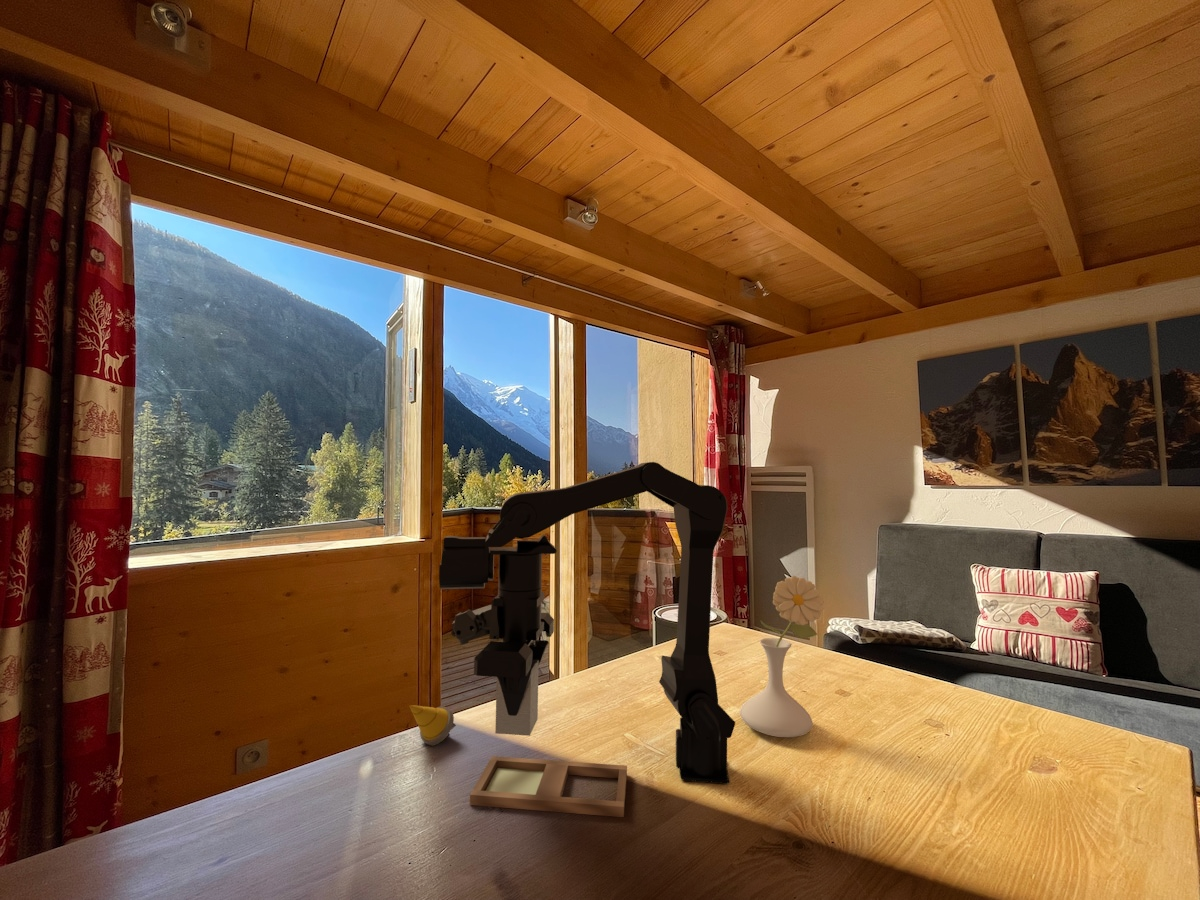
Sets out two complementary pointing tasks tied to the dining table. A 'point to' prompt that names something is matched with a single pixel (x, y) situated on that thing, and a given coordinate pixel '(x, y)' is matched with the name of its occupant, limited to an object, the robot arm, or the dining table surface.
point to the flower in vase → (774, 704)
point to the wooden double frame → (545, 786)
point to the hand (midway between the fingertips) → (517, 706)
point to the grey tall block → (527, 710)
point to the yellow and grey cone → (433, 723)
